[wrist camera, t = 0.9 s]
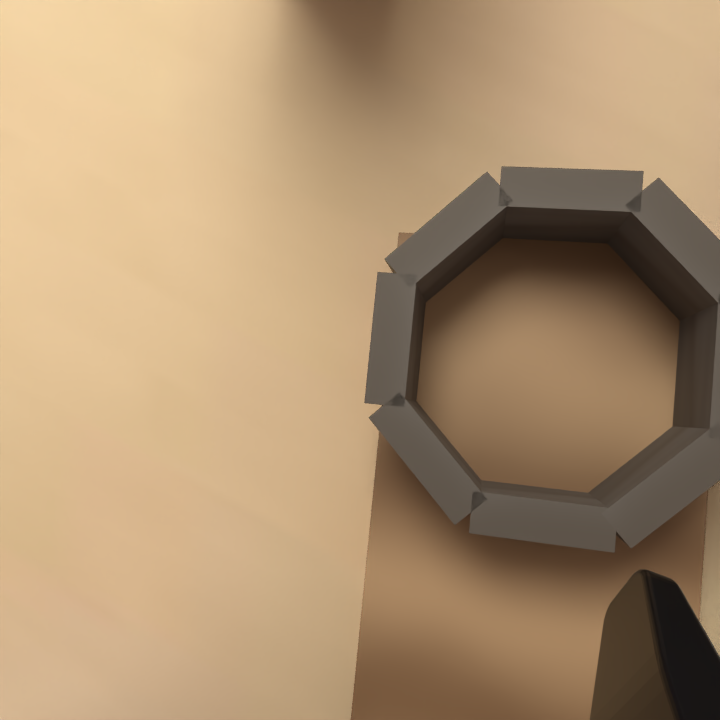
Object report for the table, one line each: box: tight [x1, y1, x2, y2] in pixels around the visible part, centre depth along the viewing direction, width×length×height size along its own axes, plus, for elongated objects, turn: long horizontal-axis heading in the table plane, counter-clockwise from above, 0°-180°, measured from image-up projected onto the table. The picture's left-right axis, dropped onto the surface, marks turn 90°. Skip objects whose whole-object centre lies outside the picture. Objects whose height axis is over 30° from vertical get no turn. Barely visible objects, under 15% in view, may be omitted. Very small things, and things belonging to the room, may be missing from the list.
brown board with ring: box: [351, 166, 720, 720], centre depth 18 cm, size 17×9×4 cm, turn 174°
